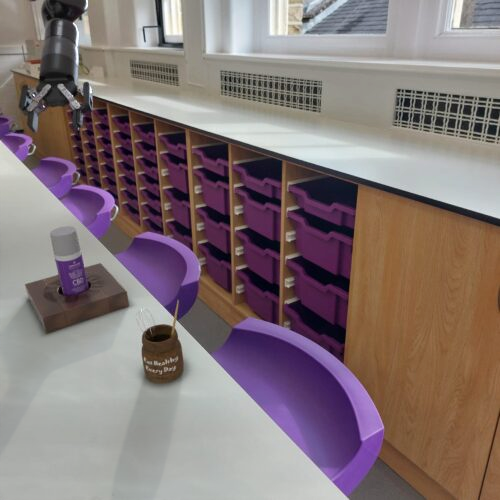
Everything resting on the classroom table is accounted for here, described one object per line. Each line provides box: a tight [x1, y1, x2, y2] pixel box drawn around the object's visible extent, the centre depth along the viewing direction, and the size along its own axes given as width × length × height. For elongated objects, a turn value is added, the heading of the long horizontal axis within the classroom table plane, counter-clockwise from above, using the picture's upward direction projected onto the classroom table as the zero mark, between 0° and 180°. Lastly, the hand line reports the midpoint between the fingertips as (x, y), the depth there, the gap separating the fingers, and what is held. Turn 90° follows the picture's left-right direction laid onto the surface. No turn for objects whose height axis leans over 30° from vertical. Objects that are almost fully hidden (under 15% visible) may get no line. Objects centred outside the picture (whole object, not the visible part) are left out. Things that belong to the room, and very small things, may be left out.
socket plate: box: [24, 262, 130, 335], centre depth 93 cm, size 15×15×4 cm
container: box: [49, 226, 89, 296], centre depth 90 cm, size 5×5×15 cm
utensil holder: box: [135, 299, 185, 384], centre depth 71 cm, size 6×6×12 cm
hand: (54, 129), depth 98 cm, fingers open, 8 cm apart
